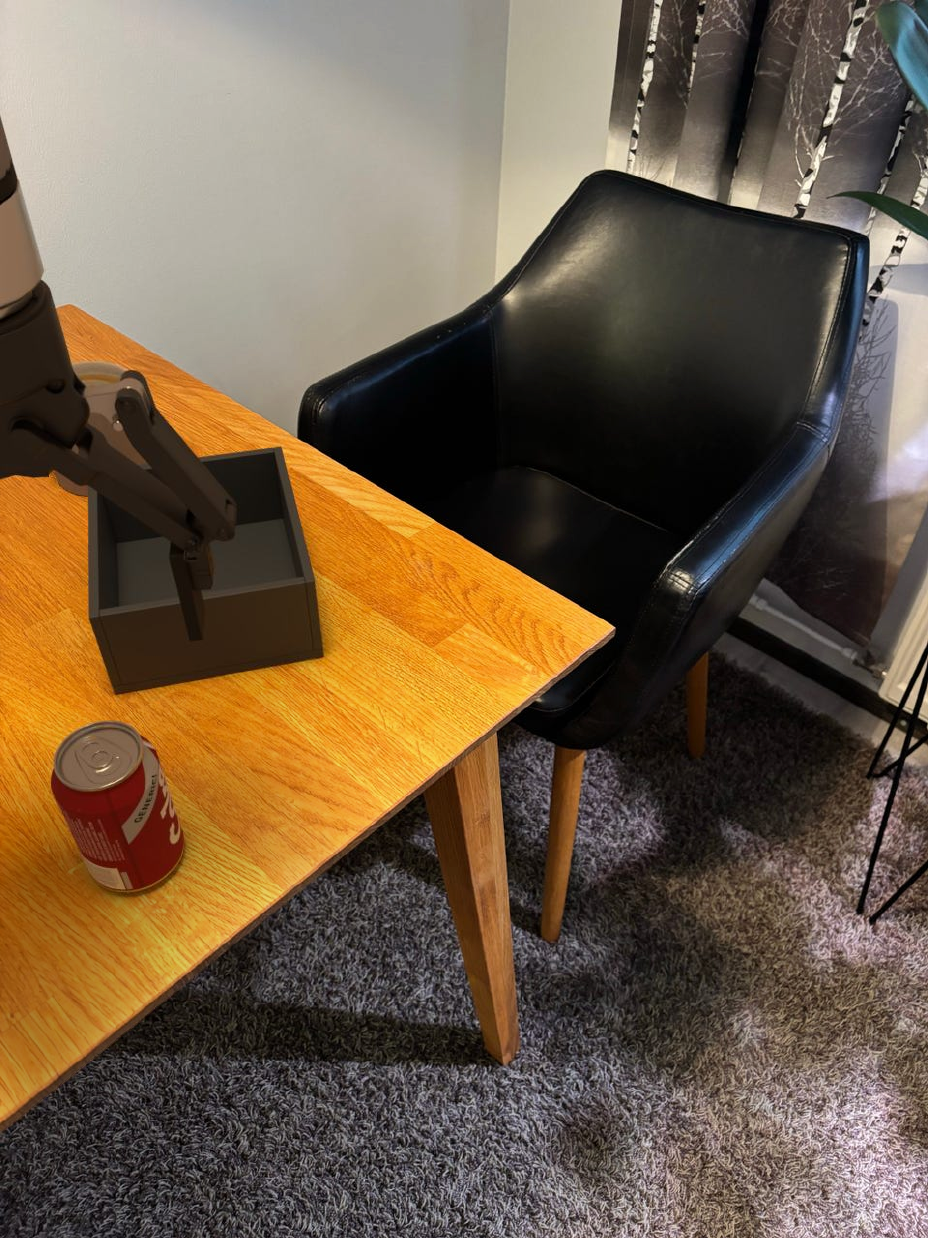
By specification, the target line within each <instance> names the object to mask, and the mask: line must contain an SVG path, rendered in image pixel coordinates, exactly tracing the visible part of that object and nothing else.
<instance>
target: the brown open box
mask: <svg viewBox="0 0 928 1238" xmlns="http://www.w3.org/2000/svg"><path fill="white" fill-rule="evenodd" d="M197 457H198V458H199V459H200V461H201V462H202V463H203V464H204V465H205V466H206V468H207V469H208V470H209V471H210V472H211V474H212V475H213V476H214V477H215V478H216V480H217V481H218V482H219V483H220V484H221V485H222V487H223V488H224V489H225V490H226V491H227V493H228V494H229V495H230V496H231V497H232V498H233V500H234V501H235V503H236V526H235V536H234V538H233V539H231V540H230V541H226V542H225V541H219V540H214V541H212V542H210V548H211V554H212V558H213V563H214V577H213V584H212V587H211V589H210V590H201V592H202V596H203V600H204V605H205V619H204V631H203V640H200V641H189V637H188V632H187V628H186V624H185V620H184V616H183V612H182V608H181V604H180V600H179V596H178V592H177V588H176V584H175V580H174V576H173V572H172V568H171V564H170V560H169V553H170V545H171V541H169V540H168V539H166V538H165V537H163V536H162V535H160V534H159V533H157V532H156V531H154V530H153V529H151V528H150V527H149V526H147V525H146V524H144V523H143V522H141V521H140V520H138V519H137V518H135V517H134V516H132V515H131V514H129V513H128V512H126V511H125V510H123V509H122V508H121V507H119V506H118V505H116V504H115V503H113V502H112V501H110V500H109V499H107V498H106V497H104V496H103V495H101V494H100V493H98V492H97V491H95V490H94V489H92V488H91V487H89V486H88V496H87V555H88V556H87V561H88V563H87V566H88V567H87V582H88V583H87V585H88V587H87V589H88V590H87V591H88V593H87V595H88V596H87V597H88V600H87V601H88V602H87V603H88V607H87V609H88V612H87V613H88V614H87V615H88V617H87V618H88V621H89V624H90V627H91V629H92V631H93V632H92V633H93V635H94V638H95V641H96V644H97V647H98V651H99V653H100V655H101V658H102V661H103V664H104V667H105V670H106V673H107V676H108V679H109V682H110V684H111V687H112V690H113V693H114V695H119V694H125V693H130V692H136V691H141V690H148V689H153V688H157V687H158V688H159V687H164V686H169V685H175V684H181V683H186V682H191V681H197V680H203V679H208V678H214V677H221V676H225V675H231V674H235V673H237V674H238V673H242V672H248V671H253V670H259V669H264V668H269V667H275V666H281V665H286V664H291V663H298V662H303V661H308V660H313V659H319V658H323V657H324V647H323V637H322V629H321V622H320V621H321V620H320V611H319V602H318V594H317V585H316V579H315V575H314V571H313V567H312V563H311V559H310V554H309V551H308V547H307V542H306V539H305V535H304V529H303V526H302V523H301V518H300V515H299V511H298V506H297V502H296V499H295V495H294V490H293V487H292V483H291V477H290V474H289V471H288V466H287V462H286V459H285V455H284V451H283V447H282V446H280V445H279V446H273V447H266V448H258V449H251V450H243V451H235V452H228V453H219V454H212V455H206V456H205V455H204V456H197ZM139 466H140V467H141V468H143V469H144V470H146V471H147V472H148V473H150V474H151V475H152V476H154V477H155V478H157V479H158V480H159V481H161V482H162V483H164V484H165V485H166V486H168V485H167V484H166V483H165V482H164V481H163V480H162V479H161V478H160V476H159V475H158V474H157V473H156V472H155V471H154V470H153V469H152V468H151V466H150V465H149V464H145V465H139Z"/></svg>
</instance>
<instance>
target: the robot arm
mask: <svg viewBox="0 0 928 1238" xmlns="http://www.w3.org/2000/svg"><path fill="white" fill-rule="evenodd" d="M6 135H7V134H6V131H5V128H4V125H3V121H2V117H1V115H0V480H3V479H7V478H11V477H14V476H18V477H27V478H33V479H35V478H37V479H38V478H49V477H50V474H51V473H52V472H54V470H55V471H57V472H58V473H60V474H61V475H63V476H64V477H66V478H67V479H69V480H70V481H72V482H73V483H75V484H77V485H78V486H85V485H87V486H89V487H91V488H92V489H94V490H95V491H97V492H98V493H100V494H101V495H103V496H104V497H106V498H107V499H109V500H110V501H112V502H113V503H115V504H116V505H118V506H119V507H121V508H122V509H123V510H125V511H126V512H128V513H129V514H131V515H132V516H134V517H135V518H137V519H138V520H140V521H141V522H143V523H144V524H146V525H147V526H149V527H150V528H151V529H153V530H154V531H156V532H157V533H159V534H160V535H162V536H163V537H165V538H166V539H168V540H169V541H171V545H170V553H169V560H170V564H171V568H172V572H173V576H174V580H175V584H176V588H177V592H178V596H179V600H180V604H181V608H182V612H183V616H184V620H185V624H186V628H187V632H188V637H189V641H200V640H203V631H204V619H205V605H204V600H203V596H202V592H201V590H210V589H211V587H212V584H213V577H214V563H213V558H212V554H211V548H210V542H212V541H214V540H219V541H225V542H226V541H230V540H231V539H233V538H234V536H235V526H236V503H235V501H234V500H233V498H232V497H231V496H230V495H229V494H228V493H227V491H226V490H225V489H224V488H223V487H222V485H221V484H220V483H219V482H218V481H217V480H216V478H215V477H214V476H213V475H212V474H211V472H210V471H209V470H208V469H207V468H206V466H205V465H204V464H203V463H202V462H201V461H200V459H199V458H198V457H199V456H197V454H196V453H195V452H194V451H193V450H192V449H191V447H190V446H189V445H188V444H187V443H186V441H185V440H184V439H183V438H182V437H181V435H180V434H179V432H177V431H176V429H174V426H172V425H171V424H170V423H169V421H168V420H167V419H166V418H165V417H164V416H163V414H162V413H161V412H160V411H159V409H158V408H157V407H156V403H155V401H154V398H153V395H152V393H151V390H150V387H149V385H148V382H147V379H146V377H145V375H144V374H143V373H141V372H140V371H138V370H136V369H127V371H125V372H124V373H123V374H122V376H121V379H120V382H116V383H109V384H102V385H95V386H89V387H87V386H86V385H85V384H84V383H83V382H82V381H81V380H80V379H79V377H78V376H77V375H76V373H75V372H74V370H73V367H72V364H71V363H72V360H71V356H70V352H69V349H68V346H67V343H66V342H67V341H66V337H65V334H64V332H63V328H62V325H61V321H60V317H59V314H58V311H57V308H56V304H55V300H54V298H53V297H54V296H53V294H52V290H51V288H50V286H49V285H48V284H47V282H46V281H44V280H43V279H42V278H43V275H44V273H45V268H44V264H43V261H42V257H41V254H40V251H39V246H38V243H37V239H36V236H35V231H34V229H33V225H32V222H31V217H30V215H29V210H28V207H27V204H26V199H25V197H24V193H23V189H22V186H21V183H20V179H19V178H18V176H17V175H18V174H17V171H16V168H15V165H14V162H13V157H12V154H11V149H10V147H9V146H10V145H9V142H8V139H7V136H6ZM90 414H98V415H101V416H103V417H104V418H106V419H107V421H108V422H109V423H110V425H112V428H113V429H114V430H115V431H117V432H121V431H123V430H124V432H125V434H126V436H127V438H128V440H129V441H130V443H131V444H132V446H133V447H134V448H135V449H136V451H137V452H138V453H139V454H140V455H141V456H142V458H143V459H144V460H145V461H146V462H147V463H148V464H149V465H150V466H151V468H152V469H153V470H154V471H155V472H156V473H157V474H158V475H159V476H160V478H161V479H162V480H163V481H164V482H165V483H166V484H167V485H168V486H166V485H165V484H164V483H162V482H161V481H159V480H158V479H157V478H155V477H154V476H152V475H151V474H150V473H148V472H147V471H146V470H144V469H143V468H141V467H140V466H139V465H137V464H136V463H134V462H133V461H132V460H130V459H129V458H127V457H126V456H125V455H123V454H122V453H121V452H119V451H118V450H116V449H115V448H114V447H112V446H111V445H110V444H109V443H108V442H107V440H106V437H105V436H104V435H103V434H102V433H101V432H100V431H99V430H97V429H96V428H95V427H93V426H92V425H91V424H89V423H88V422H87V421H88V419H89V416H90ZM74 444H75V445H76V446H77V447H78V450H79V451H78V454H77V453H75V452H74V451H72V448H73V446H74Z"/></svg>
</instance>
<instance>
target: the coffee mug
mask: <svg viewBox="0 0 928 1238" xmlns="http://www.w3.org/2000/svg"><path fill="white" fill-rule="evenodd" d="M71 364H72V367H73V370H74V372H75V373H76V375H77V376H78V377H79V379H80V380H81V381H82V382H83V383H84V384H85V385H86V386H87V387H89V386H95V385H102V384H109V383H116V382H120V379H121V376H122V374H123V373H124V372H125V371H128V369H126V368H125V367H123V366H122V365H119V364H116V363H112V362H108V361H102V360H84V361H77V362H71ZM87 422H88V423H89V424H91V425H92V426H93V427H95V428H96V429H97V430H99V431H100V432H101V433H102V434H103V435H104V436H105V437H106V440H107V442H108V443H109V444H110V445H111V446H112V447H114V448H115V449H116V450H118V451H119V452H121V453H122V454H123V455H125V456H126V457H127V458H129V459H130V460H132V461H133V462H134V463H136V464H137V465H145V464H148V463H147V462H146V461H145V460H144V459H143V458H142V456H141V455H140V454H139V453H138V452H137V451H136V449H135V448H134V447H133V446H132V444H131V443H130V441H129V440H128V438H127V436H126V434H125V432H124V430H123V431H121V432H117V431H115V430H114V429H113V428H112V425H110V423H109V422H108V421H107V419H106V418H104V417H103V416H101V415H98V414H90V416H89V419H88V421H87ZM72 451H74V452H75V453H77V454H78V451H79V450H78V447H77V446H76V445H75V444H74V446H73V448H72ZM53 472H54V475H55V479H56V481H57V483H58V485H59V486H61V488H62V489H64V490H65V491H67V492H68V493H71V494H74V495H77V496H83V497H88V486H87V485H85V486H78V485H77V484H75V483H73V482H72V481H70V480H69V479H67V478H66V477H64V476H63V475H61V474H60V473H58V472H57V471H55V470H54V471H53Z"/></svg>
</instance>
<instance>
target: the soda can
mask: <svg viewBox="0 0 928 1238" xmlns="http://www.w3.org/2000/svg"><path fill="white" fill-rule="evenodd" d="M159 757H160V756H159V755H158V751H157V749H156V748H155V746H154V744H153V743H152V742H151V741H150V740H149V739H147V738H146V737H145V736H144V735H142V734H140V733H139V731H138V730H137V729H136V728H135V727H133V726H131V725H130V724H128V723H126V722H124V721H118V720H99V721H94V722H91V723H87V724H85V725H83V726H81V727H79V728H77V729H75V730H74V731H72V732H71V733H69V734H68V735H67V736H66V737H65V738H64V739H63V740H62V741H61V743H60V744H59V745H58V747H57V748H56V750H55V753H54V757H53V769H52V772H51V775H50V776H51V777H50V788H51V792H52V795H53V797H54V799H55V802H56V805H58V808H59V810H60V813H61V815H62V817H63V818H64V821H65V823H66V825H67V827H68V829H69V832H70V833H71V836H72V838H73V840H74V842H75V845H76V847H77V848H78V850H79V853H80V855H81V858H82V859H83V861H84V863H85V866H86V867H87V868H86V869H87V870H88V872H89V874H90V876H91V877H92V879H93V880H94V881H95V882H96V883H97V884H98V885H100V886H101V887H103V888H105V889H107V890H109V891H113V892H117V893H133V892H138V891H139V892H140V891H143V890H145V889H146V890H147V889H148V888H151V887H153V886H155V885H157V884H158V883H160V882H162V881H163V880H164V879H165V878H167V877H169V875H170V874H171V873H172V872H173V871H174V870H175V869H176V867H177V866H178V864H179V862H180V861H181V859H182V856H183V853H184V849H185V835H184V831H183V828H182V826H181V823H180V819H179V816H178V813H177V810H176V807H175V804H174V800H173V798H172V794H171V791H170V788H169V786H168V782H167V780H166V776H165V773H164V770H163V767H162V764H161V761H160V758H159Z"/></svg>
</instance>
